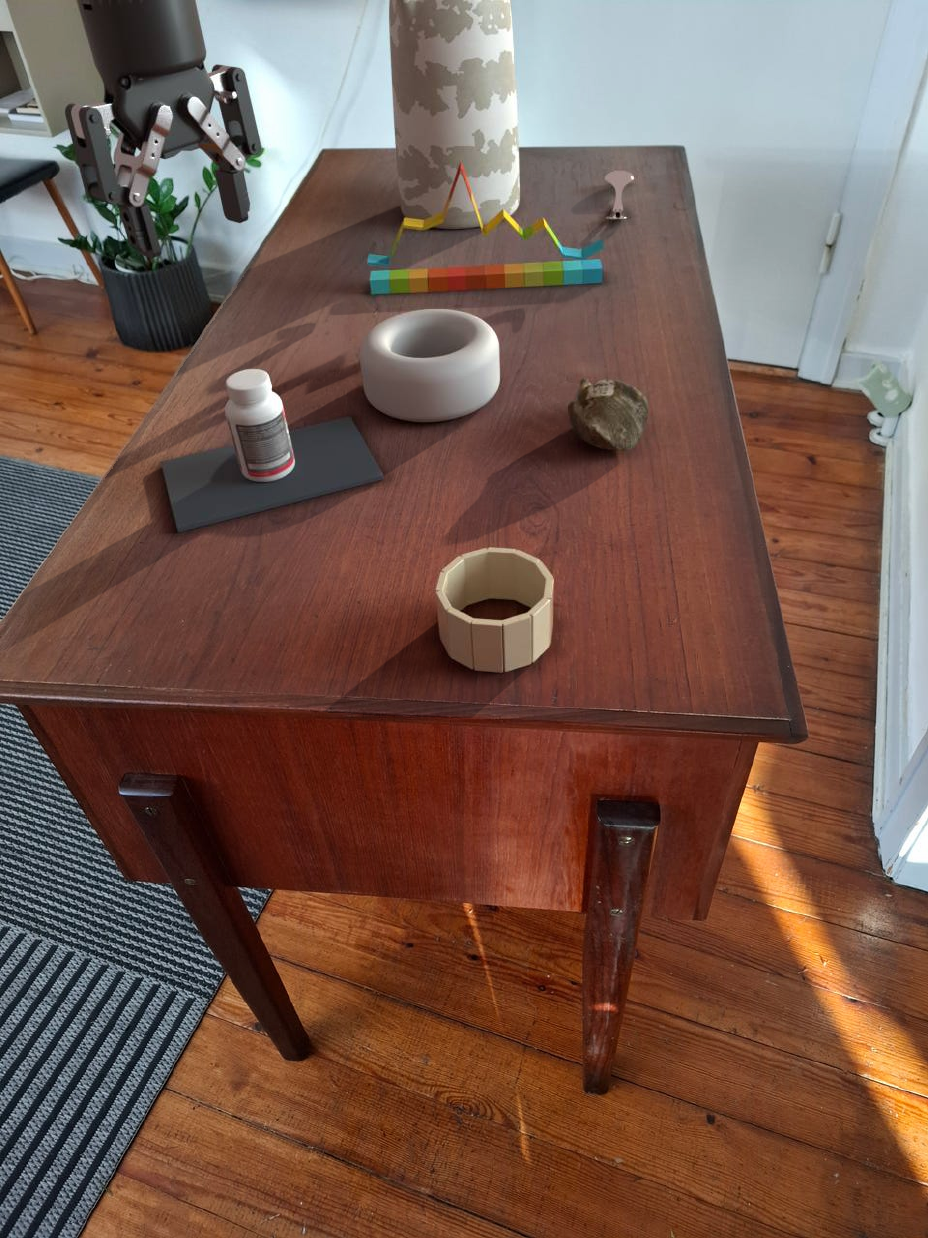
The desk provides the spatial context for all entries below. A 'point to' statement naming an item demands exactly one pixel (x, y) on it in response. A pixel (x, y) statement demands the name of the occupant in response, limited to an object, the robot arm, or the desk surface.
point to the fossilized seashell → (609, 414)
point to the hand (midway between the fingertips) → (194, 237)
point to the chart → (495, 274)
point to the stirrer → (618, 191)
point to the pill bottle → (258, 427)
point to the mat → (222, 492)
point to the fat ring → (430, 365)
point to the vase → (454, 108)
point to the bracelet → (498, 579)
